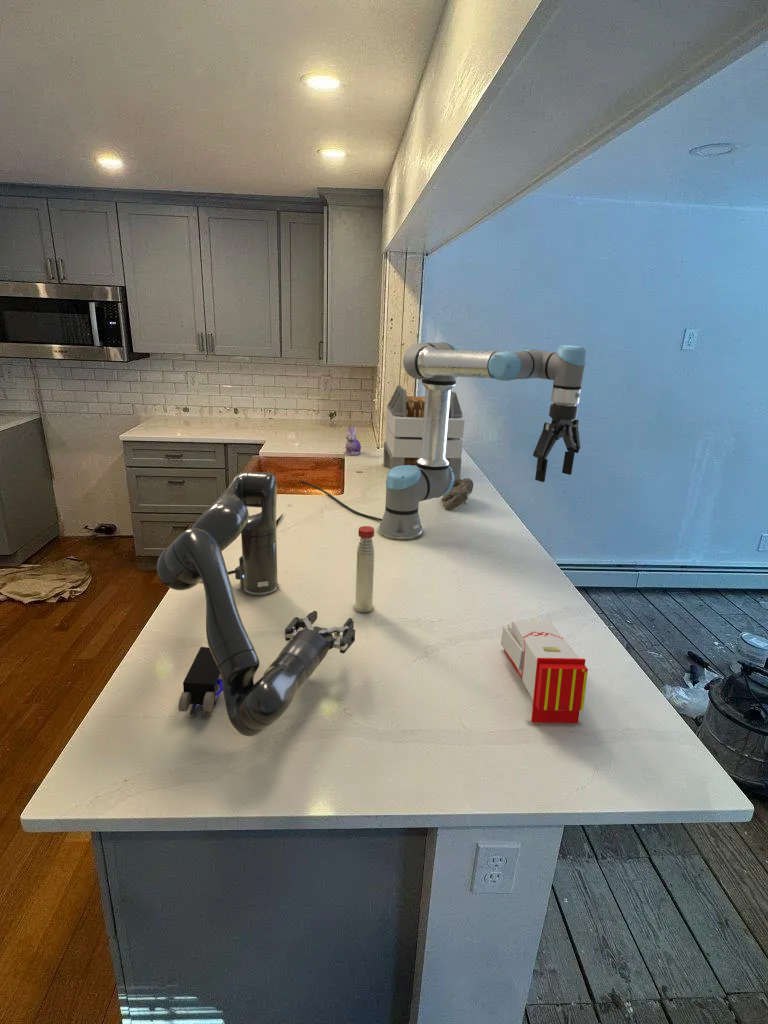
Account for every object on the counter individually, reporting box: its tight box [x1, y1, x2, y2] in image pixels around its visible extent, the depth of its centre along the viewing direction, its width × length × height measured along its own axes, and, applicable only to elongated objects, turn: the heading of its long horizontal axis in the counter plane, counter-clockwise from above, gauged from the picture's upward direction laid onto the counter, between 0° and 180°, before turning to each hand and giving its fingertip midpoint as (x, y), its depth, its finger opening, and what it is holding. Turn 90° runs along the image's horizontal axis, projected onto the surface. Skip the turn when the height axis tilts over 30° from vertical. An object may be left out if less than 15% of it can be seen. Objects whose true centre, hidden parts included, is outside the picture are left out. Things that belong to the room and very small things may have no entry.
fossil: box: [440, 477, 474, 511], centre depth 233 cm, size 22×10×15 cm
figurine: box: [344, 425, 362, 456], centre depth 303 cm, size 9×10×15 cm
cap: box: [358, 525, 375, 539], centre depth 142 cm, size 4×4×2 cm
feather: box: [276, 513, 284, 527], centre depth 210 cm, size 2×28×2 cm
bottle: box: [355, 537, 375, 613], centre depth 146 cm, size 4×4×22 cm
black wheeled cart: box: [178, 646, 223, 717], centre depth 112 cm, size 7×8×15 cm
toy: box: [500, 620, 589, 724], centre depth 121 cm, size 12×13×30 cm
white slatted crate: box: [383, 384, 465, 479], centre depth 268 cm, size 34×33×41 cm
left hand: (333, 618), depth 127 cm, fingers open, 8 cm apart
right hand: (553, 477), depth 165 cm, fingers open, 13 cm apart
